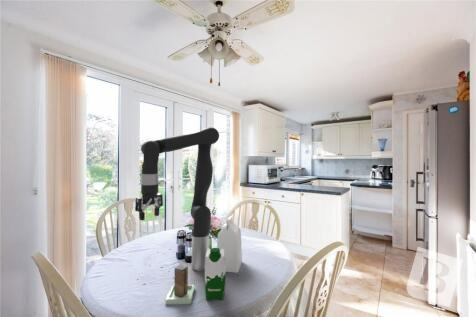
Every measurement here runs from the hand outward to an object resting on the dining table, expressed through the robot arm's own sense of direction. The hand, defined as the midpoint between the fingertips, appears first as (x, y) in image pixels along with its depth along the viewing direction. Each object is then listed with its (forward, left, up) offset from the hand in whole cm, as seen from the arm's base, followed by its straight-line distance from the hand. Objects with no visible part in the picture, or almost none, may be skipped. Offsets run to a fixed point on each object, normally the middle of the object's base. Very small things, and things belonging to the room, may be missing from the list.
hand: (149, 217), depth 102 cm
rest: (-10, +18, -30) cm, 36 cm away
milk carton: (-23, +24, -30) cm, 45 cm away
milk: (-40, +5, -30) cm, 50 cm away
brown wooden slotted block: (-10, +18, -29) cm, 36 cm away
